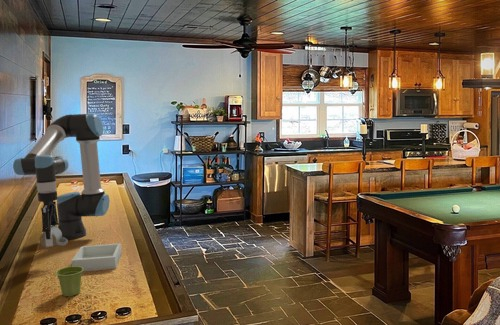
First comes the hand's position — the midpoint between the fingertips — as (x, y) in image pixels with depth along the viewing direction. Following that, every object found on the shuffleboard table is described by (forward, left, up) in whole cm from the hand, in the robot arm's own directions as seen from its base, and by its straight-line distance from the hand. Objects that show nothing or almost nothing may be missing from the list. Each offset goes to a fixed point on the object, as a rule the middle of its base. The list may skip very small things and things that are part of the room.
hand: (52, 243), depth 201 cm
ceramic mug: (0, +1, -1) cm, 2 cm away
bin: (+2, +19, -10) cm, 21 cm away
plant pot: (+36, +15, -10) cm, 41 cm away
